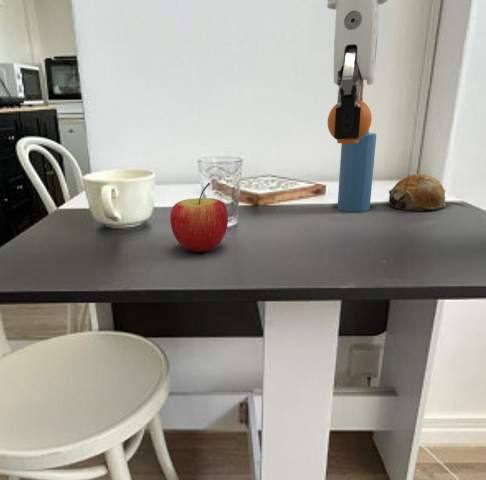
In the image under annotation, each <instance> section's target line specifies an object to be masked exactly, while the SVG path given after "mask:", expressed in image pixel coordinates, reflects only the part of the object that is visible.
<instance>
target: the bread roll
mask: <svg viewBox="0 0 486 480" xmlns="http://www.w3.org/2000/svg"><path fill="white" fill-rule="evenodd" d="M388 194H389V195H388V196H389V197H388V202H389V205H390V206H392V208H395V209H398V210H403V211H413V212H424V211H439V210H441V209H445V208H446V206H447V205H446V190H445V189H444V186H443V183H442V182H441V181H440V180H439V179H438V178H437V177H434V176H432V175H430V174H427V173H415V174H411V175H408V176H406V177H403V178H402V179H400V180H399V181H398V182H396V183H395V185H394V186H393V187H392V188H391V189H390V190H389V191H388Z"/></svg>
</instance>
